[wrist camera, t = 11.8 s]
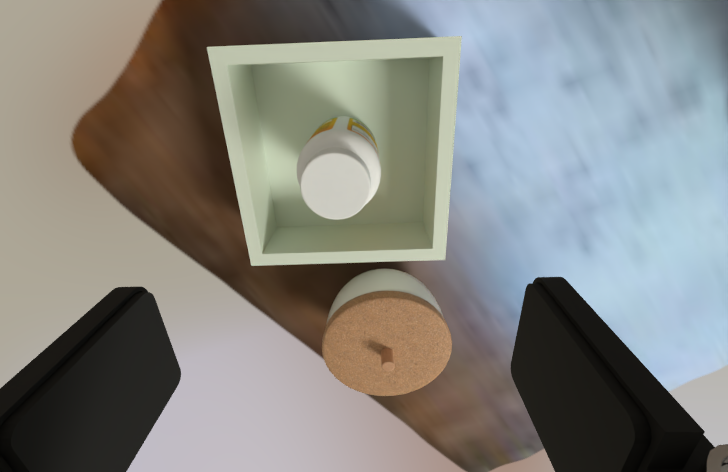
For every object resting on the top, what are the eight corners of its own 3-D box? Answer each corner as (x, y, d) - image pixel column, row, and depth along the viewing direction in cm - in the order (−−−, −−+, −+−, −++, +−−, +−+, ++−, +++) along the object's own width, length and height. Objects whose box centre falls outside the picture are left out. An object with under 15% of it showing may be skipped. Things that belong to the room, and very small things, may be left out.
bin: (441, 42, 26) (461, 36, 20) (431, 227, 32) (445, 259, 27) (239, 50, 26) (206, 46, 21) (270, 232, 33) (251, 265, 27)
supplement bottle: (311, 181, 29) (288, 229, 21) (310, 113, 27) (283, 136, 18) (375, 184, 30) (380, 233, 21) (379, 117, 27) (386, 141, 18)
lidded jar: (390, 351, 39) (398, 430, 31) (309, 304, 36) (293, 376, 28) (457, 286, 35) (486, 356, 27) (372, 229, 33) (375, 286, 24)
